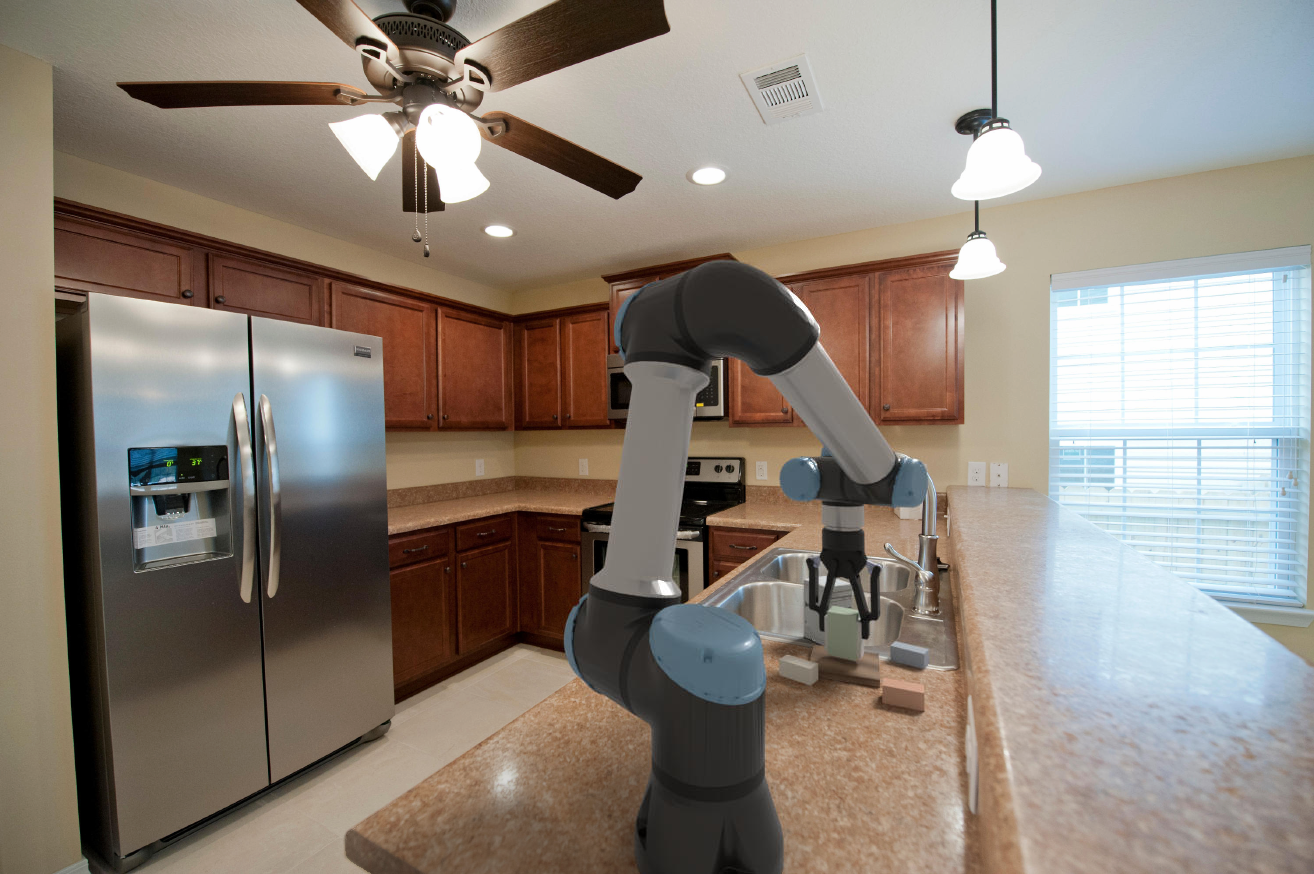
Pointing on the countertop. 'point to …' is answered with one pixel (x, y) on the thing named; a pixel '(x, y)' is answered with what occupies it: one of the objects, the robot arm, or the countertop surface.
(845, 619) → the sage brick
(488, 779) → the countertop surface
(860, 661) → the walnut board
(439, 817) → the countertop surface
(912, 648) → the slate brick
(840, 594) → the supplement box
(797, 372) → the robot arm
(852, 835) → the countertop surface
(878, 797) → the countertop surface
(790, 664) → the cream brick
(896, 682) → the terracotta brick
